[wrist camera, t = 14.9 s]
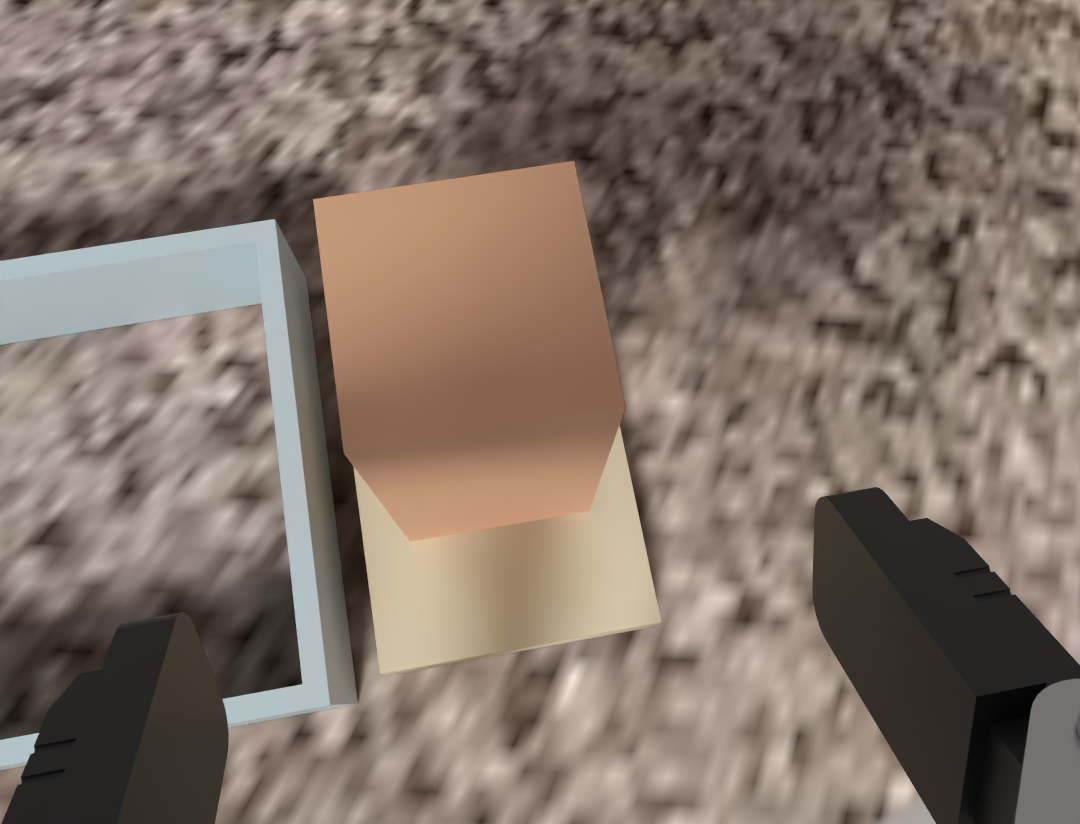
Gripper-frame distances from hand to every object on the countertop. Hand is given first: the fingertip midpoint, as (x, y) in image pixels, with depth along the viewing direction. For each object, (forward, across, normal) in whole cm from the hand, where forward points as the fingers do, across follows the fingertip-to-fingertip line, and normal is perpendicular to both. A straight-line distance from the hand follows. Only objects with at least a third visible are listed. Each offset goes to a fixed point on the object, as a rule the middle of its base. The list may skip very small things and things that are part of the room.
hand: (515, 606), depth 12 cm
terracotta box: (+14, 0, +6) cm, 15 cm away
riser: (+15, 0, +7) cm, 17 cm away
